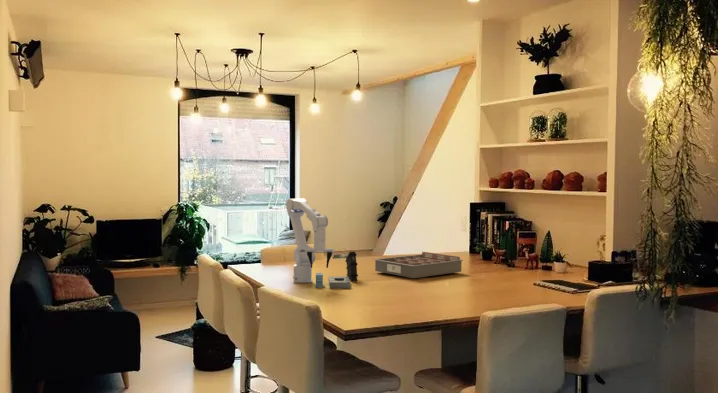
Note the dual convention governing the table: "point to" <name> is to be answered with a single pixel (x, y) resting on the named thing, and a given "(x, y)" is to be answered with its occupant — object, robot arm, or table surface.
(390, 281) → the table surface
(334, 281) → the chassis
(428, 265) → the organizer tray
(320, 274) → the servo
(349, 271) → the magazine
